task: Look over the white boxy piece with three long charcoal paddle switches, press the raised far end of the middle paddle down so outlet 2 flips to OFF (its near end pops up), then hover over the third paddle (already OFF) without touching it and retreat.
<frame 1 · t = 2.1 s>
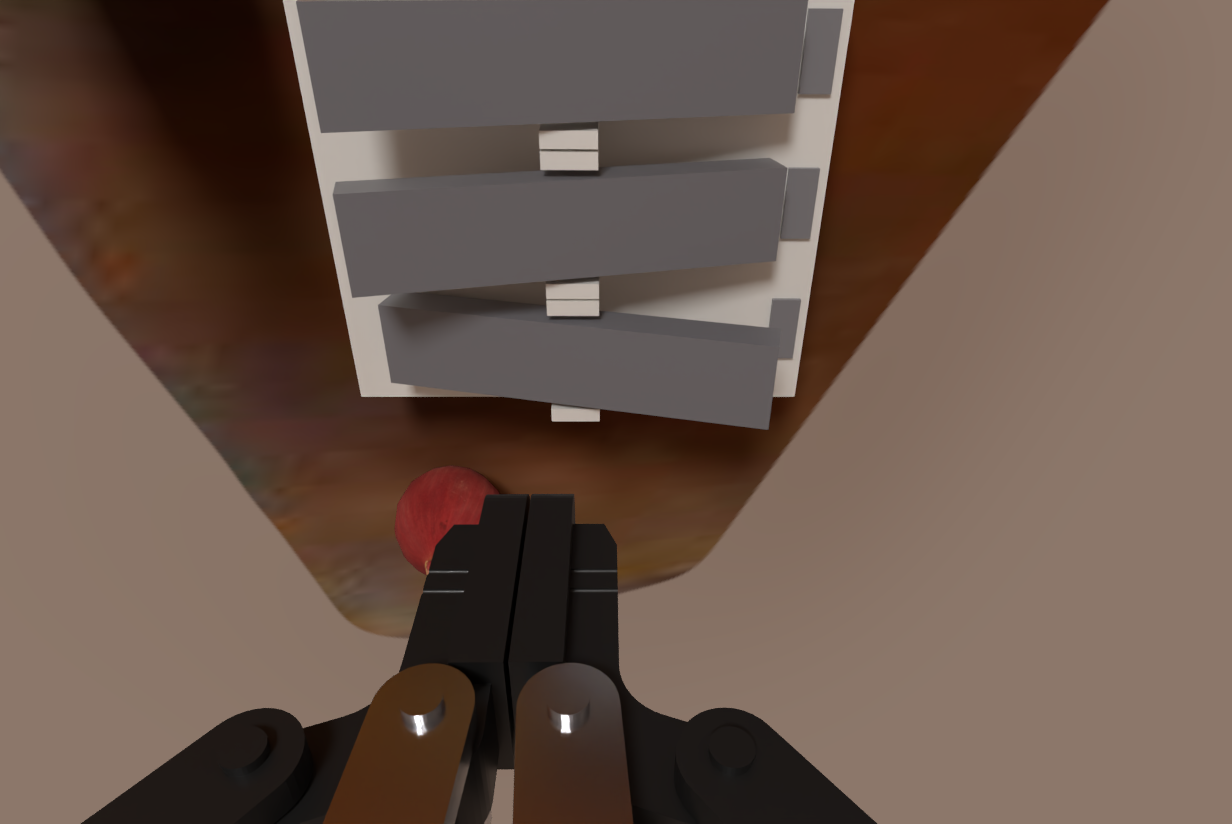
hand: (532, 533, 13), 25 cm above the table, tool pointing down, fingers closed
white boxy piece: (578, 170, 34), on the table
onion: (463, 477, 44), on the table
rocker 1: (567, 60, 25), point 8 cm above the table, hinge at -13.5°
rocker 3: (574, 357, 31), point 8 cm above the table, hinge at 13.5°
rocker 2: (571, 224, 28), point 8 cm above the table, hinge at -13.5°
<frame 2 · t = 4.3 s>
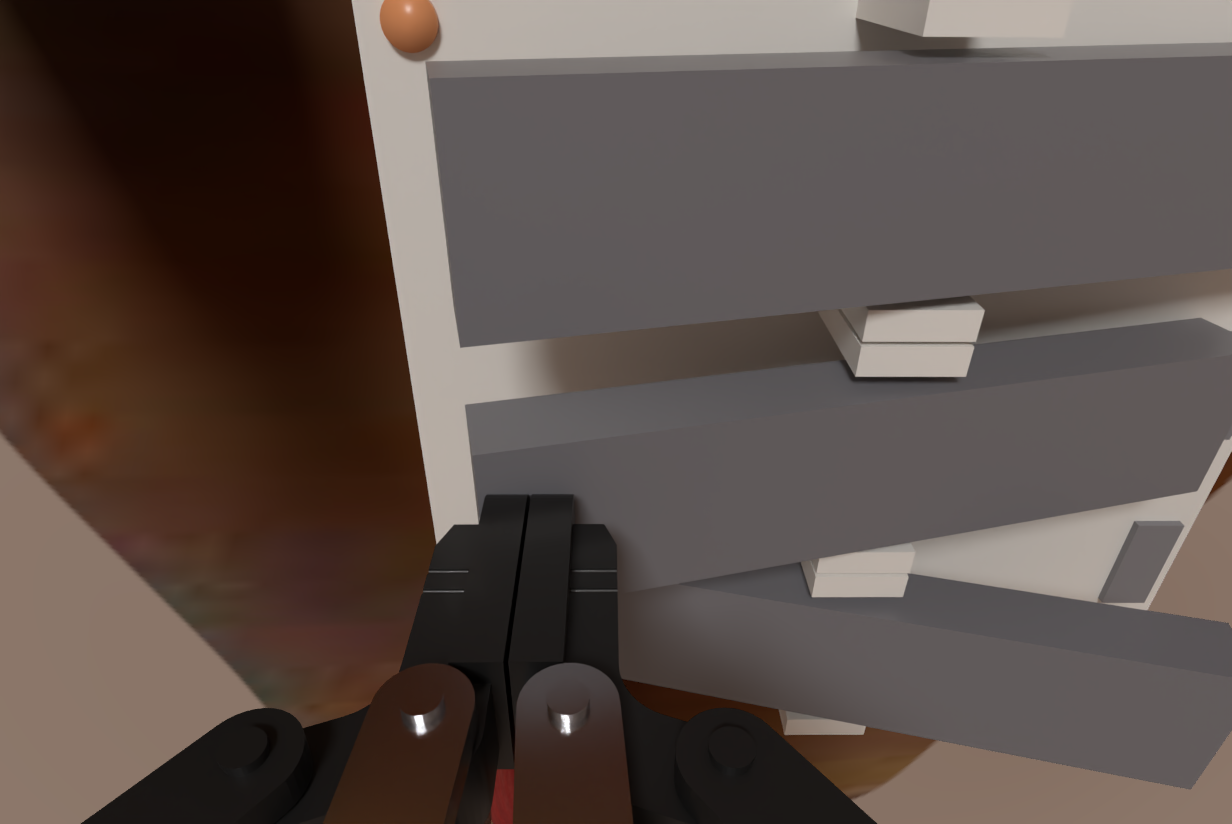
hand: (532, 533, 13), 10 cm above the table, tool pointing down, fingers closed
white boxy piece: (796, 299, 22), on the table
onion: (570, 690, 31), on the table
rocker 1: (942, 176, 12), point 8 cm above the table, hinge at -13.5°
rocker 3: (834, 641, 18), point 8 cm above the table, hinge at 13.5°
rocker 2: (878, 453, 15), point 8 cm above the table, hinge at -13.5°, touching gripper
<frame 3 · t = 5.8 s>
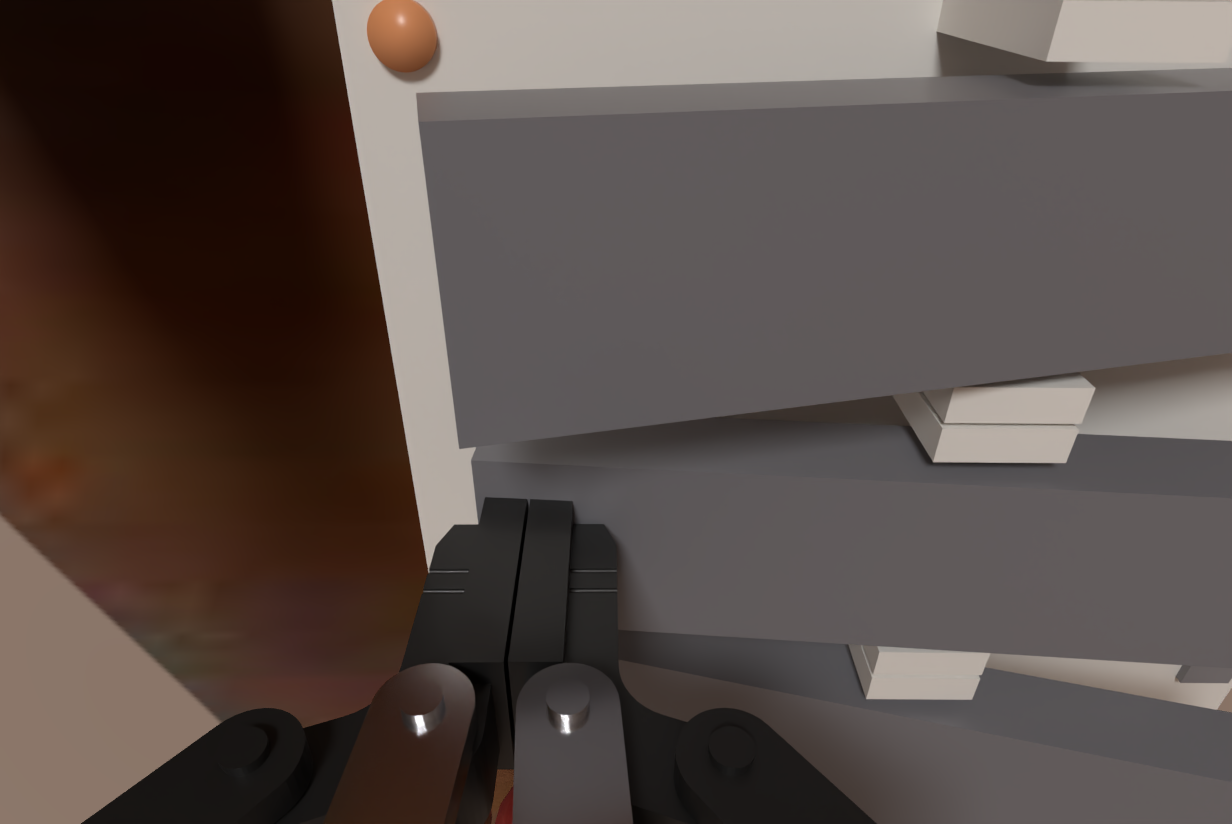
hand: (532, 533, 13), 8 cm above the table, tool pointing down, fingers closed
white boxy piece: (837, 339, 20), on the table
onion: (580, 744, 29), on the table
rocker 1: (1050, 228, 10), point 8 cm above the table, hinge at -13.5°
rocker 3: (887, 739, 16), point 8 cm above the table, hinge at 13.5°
rocker 2: (950, 541, 13), point 8 cm above the table, hinge at 4.2°, touching gripper
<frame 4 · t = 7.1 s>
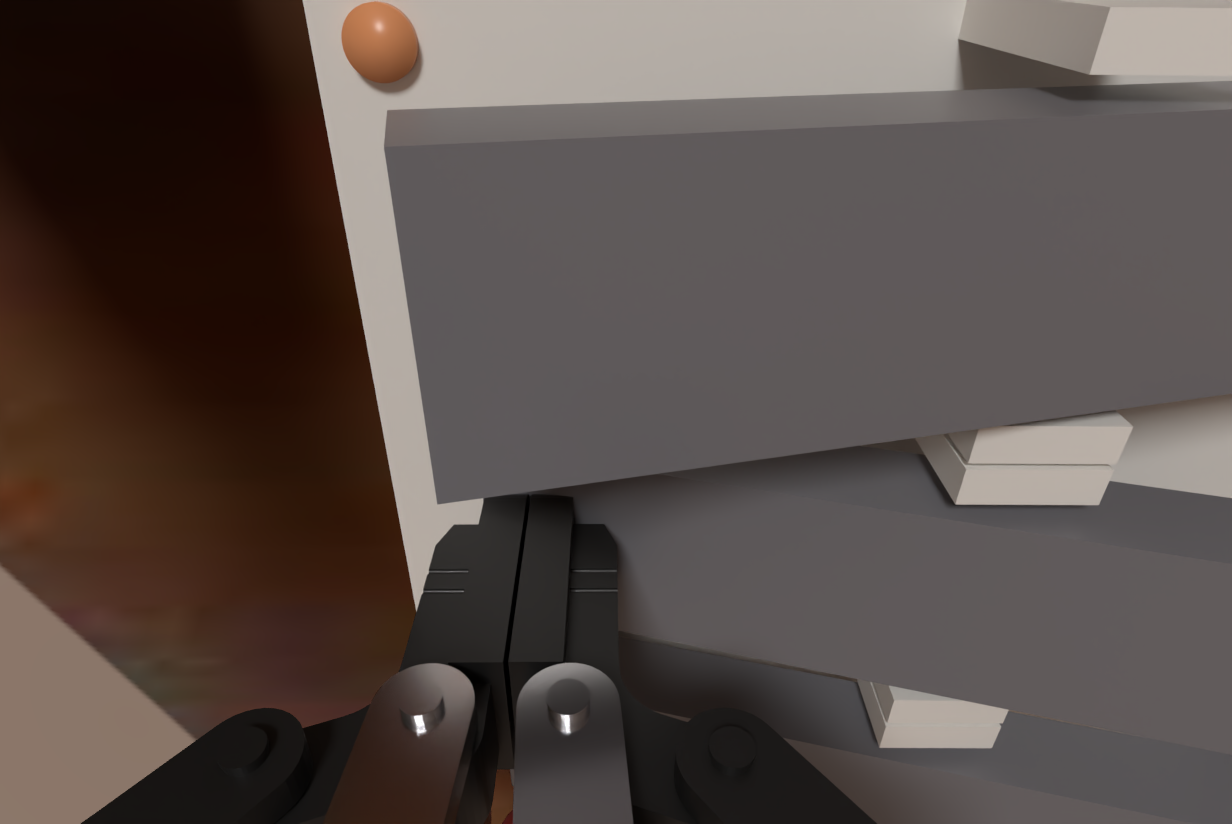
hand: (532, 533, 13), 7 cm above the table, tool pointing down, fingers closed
white boxy piece: (844, 357, 19), on the table
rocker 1: (1086, 255, 9), point 8 cm above the table, hinge at -13.5°
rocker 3: (900, 785, 15), point 8 cm above the table, hinge at 13.5°
rocker 2: (971, 583, 12), point 8 cm above the table, hinge at 14.4°, touching gripper
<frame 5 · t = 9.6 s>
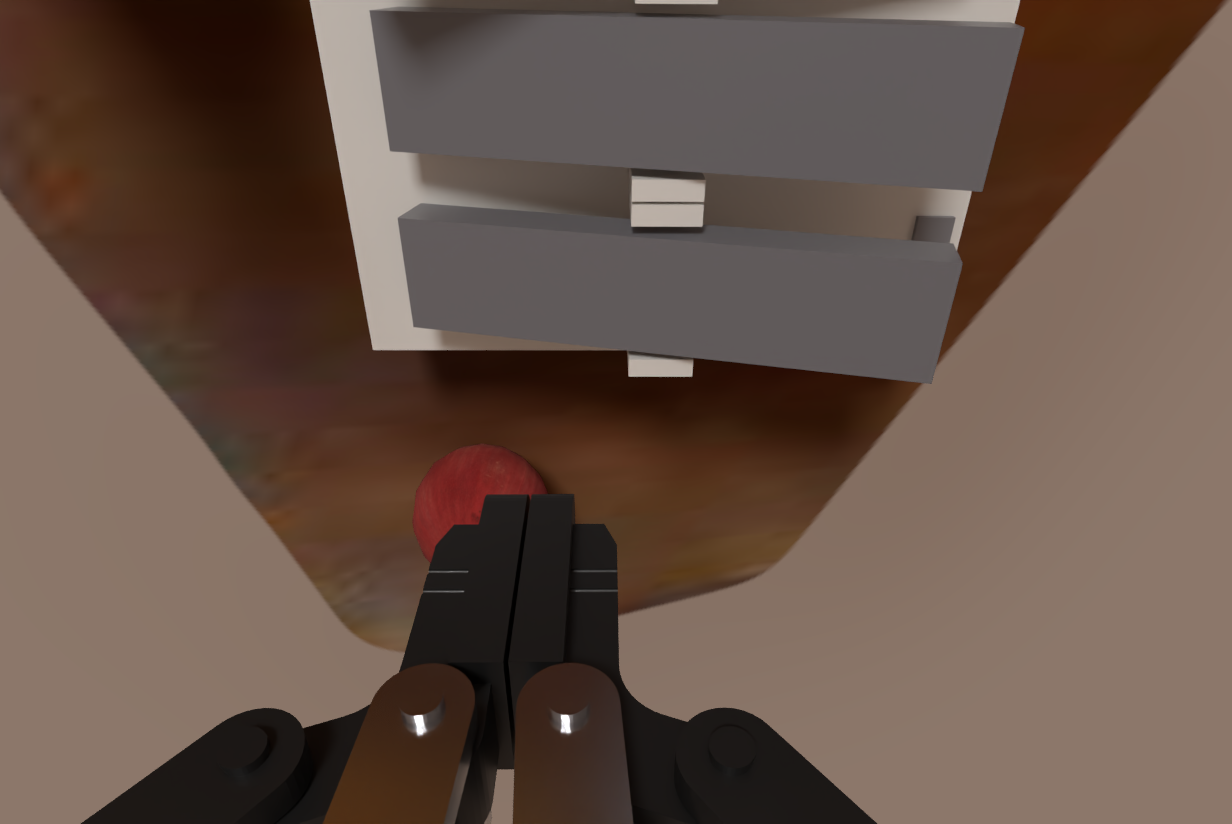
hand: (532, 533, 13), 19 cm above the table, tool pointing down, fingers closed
white boxy piece: (654, 56, 26), on the table
onion: (494, 460, 36), on the table
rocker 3: (662, 288, 23), point 8 cm above the table, hinge at 13.5°
rocker 2: (670, 92, 20), point 8 cm above the table, hinge at 14.6°
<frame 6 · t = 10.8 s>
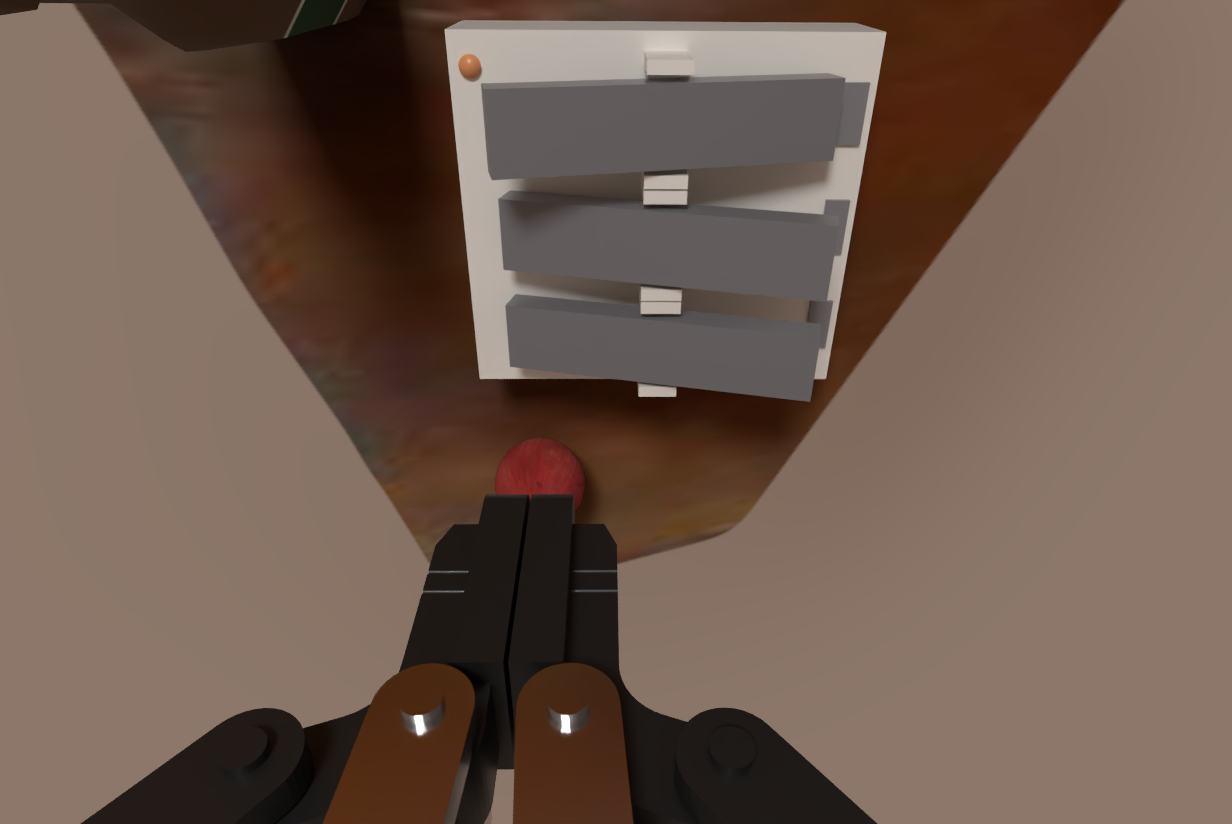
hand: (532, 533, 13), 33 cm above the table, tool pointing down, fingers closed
white boxy piece: (653, 198, 43), on the table
onion: (544, 449, 52), on the table
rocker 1: (667, 124, 33), point 8 cm above the table, hinge at -13.5°
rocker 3: (658, 346, 39), point 8 cm above the table, hinge at 13.5°
rocker 2: (662, 244, 36), point 8 cm above the table, hinge at 14.6°
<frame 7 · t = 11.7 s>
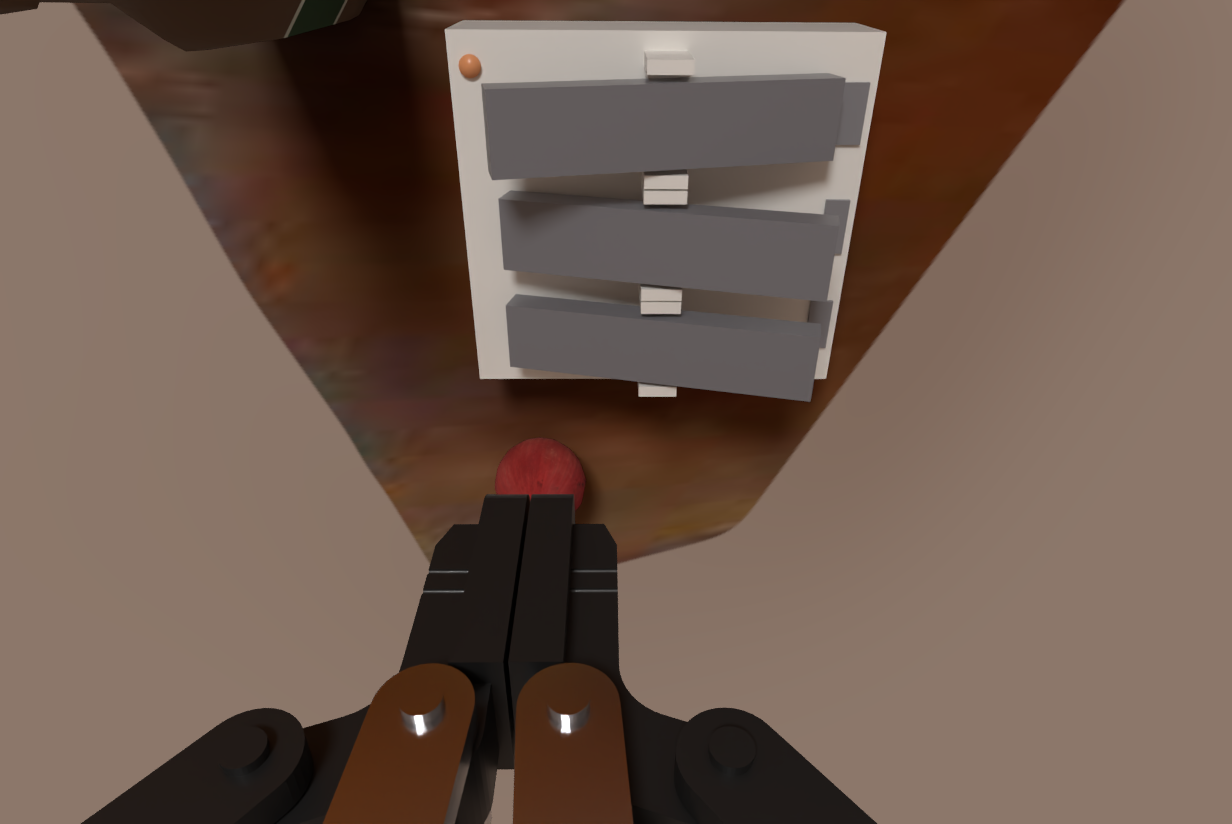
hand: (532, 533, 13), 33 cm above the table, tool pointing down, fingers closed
white boxy piece: (653, 198, 43), on the table
onion: (544, 449, 52), on the table
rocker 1: (667, 124, 33), point 8 cm above the table, hinge at -13.5°
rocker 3: (658, 346, 39), point 8 cm above the table, hinge at 13.5°
rocker 2: (662, 244, 36), point 8 cm above the table, hinge at 14.6°
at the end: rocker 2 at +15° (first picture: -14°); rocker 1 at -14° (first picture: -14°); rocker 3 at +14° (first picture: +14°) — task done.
